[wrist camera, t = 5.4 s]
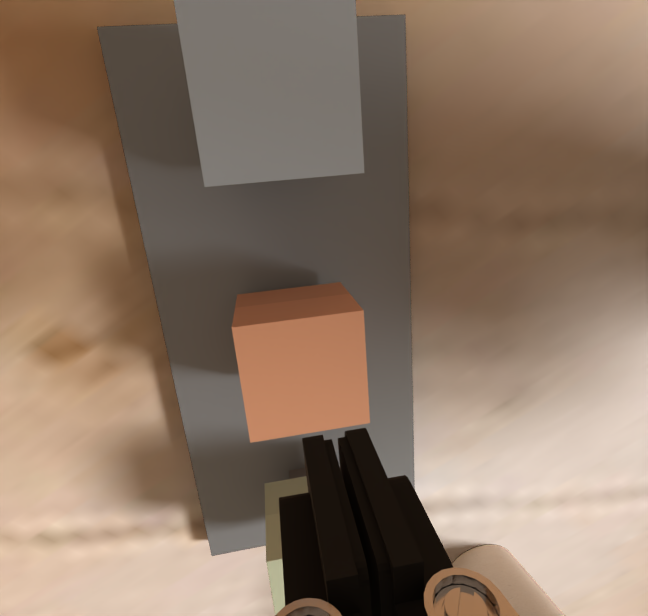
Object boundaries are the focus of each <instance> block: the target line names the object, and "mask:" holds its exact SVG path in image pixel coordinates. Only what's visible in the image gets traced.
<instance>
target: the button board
mask: <svg viewBox="0 0 648 616" xmlns="http://www.w3.org/2000/svg"><path fill="white" fill-rule="evenodd" d="M97 30H98V35H99V39H100V44H101V48H102V53H103V58H104V62H105V67H106V71H107V76H108V81H109V85H110V90H111V94H112V99H113V104H114V108H115V113H116V117H117V122H118V127H119V131H120V136H121V140H122V145H123V150H124V154H125V159H126V163H127V168H128V173H129V177H130V182H131V186H132V191H133V196H134V200H135V205H136V210H137V214H138V219H139V223H140V228H141V233H142V237H143V242H144V246H145V251H146V256H147V260H148V265H149V269H150V274H151V279H152V283H153V288H154V292H155V297H156V302H157V306H158V311H159V315H160V320H161V325H162V329H163V334H164V338H165V343H166V348H167V352H168V357H169V361H170V366H171V371H172V375H173V380H174V384H175V389H176V394H177V398H178V403H179V407H180V412H181V417H182V421H183V426H184V430H185V435H186V440H187V444H188V449H189V453H190V458H191V463H192V467H193V472H194V476H195V481H196V486H197V490H198V495H199V499H200V504H201V509H202V513H203V518H204V523H205V527H206V532H207V536H208V541H209V546H210V550H211V555H212V556H214V555H220V554H225V553H230V552H235V551H240V550H245V549H250V548H255V547H260V546H265V545H266V525H265V486H264V484H265V483H270V482H276V481H282V480H287V479H293V478H299V477H304V476H306V469H305V461H304V452H303V443H302V438H305V437H311V436H317V435H323V437H324V440H329V439H332V442H333V445H334V449H335V452H336V456H337V459H338V463H339V466H340V462H339V451H338V438H341V437H345V431H348V430H354V429H360V428H366V429H367V431H368V433H369V436H370V438H371V440H372V443H373V445H374V447H375V450H376V452H377V454H378V457H379V459H380V461H381V463H382V466H383V468H384V470H385V473H386V475H387V477H388V478H391V477H397V476H403V475H406V476H407V477H408V478H409V480H410V482H411V484H412V486H413V488H414V436H413V384H412V333H411V281H410V230H409V178H408V126H407V75H406V23H405V15H382V16H357V36H358V56H359V76H360V96H361V116H362V136H363V155H364V173H359V174H347V175H336V176H325V177H313V178H302V179H290V180H279V181H268V182H256V183H245V184H233V185H222V186H211V187H204V181H203V175H202V169H201V163H200V157H199V151H198V144H197V138H196V132H195V126H194V120H193V114H192V108H191V102H190V96H189V90H188V84H187V78H186V72H185V66H184V60H183V54H182V48H181V42H180V35H179V29H178V24H156V25H131V26H105V27H97ZM337 282H341V284H342V285H343V286H344V287H345V289H346V290H347V291H348V292H349V293H350V295H351V296H352V297H353V298H354V299H355V301H356V302H357V303H358V304H359V305H360V307H361V308H362V309H363V310H364V325H365V343H366V360H367V378H368V396H369V413H370V423H367V424H361V425H355V426H349V427H343V428H337V429H331V430H325V431H319V432H313V433H307V434H301V435H295V436H288V437H282V438H276V439H270V440H264V441H258V442H252V443H250V438H249V432H248V425H247V419H246V413H245V407H244V401H243V395H242V388H241V382H240V376H239V370H238V364H237V358H236V351H235V345H234V339H233V333H232V323H233V317H234V311H235V305H236V299H237V294H245V293H254V292H262V291H270V290H279V289H287V288H295V287H304V286H312V285H320V284H329V283H337ZM414 490H415V488H414Z"/></svg>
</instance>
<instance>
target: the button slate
mask: <svg viewBox="0 0 648 616" xmlns="http://www.w3.org/2000/svg"><path fill="white" fill-rule="evenodd" d="M174 5H175V11H176V17H177V23H178V29H179V35H180V42H181V48H182V54H183V60H184V66H185V72H186V78H187V84H188V90H189V96H190V102H191V108H192V114H193V120H194V126H195V132H196V138H197V144H198V151H199V157H200V163H201V169H202V175H203V181H204V187H211V186H222V185H233V184H245V183H256V182H268V181H279V180H290V179H302V178H313V177H325V176H336V175H347V174H359V173H364V155H363V136H362V116H361V96H360V76H359V56H358V36H357V17H356V0H174Z"/></svg>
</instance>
